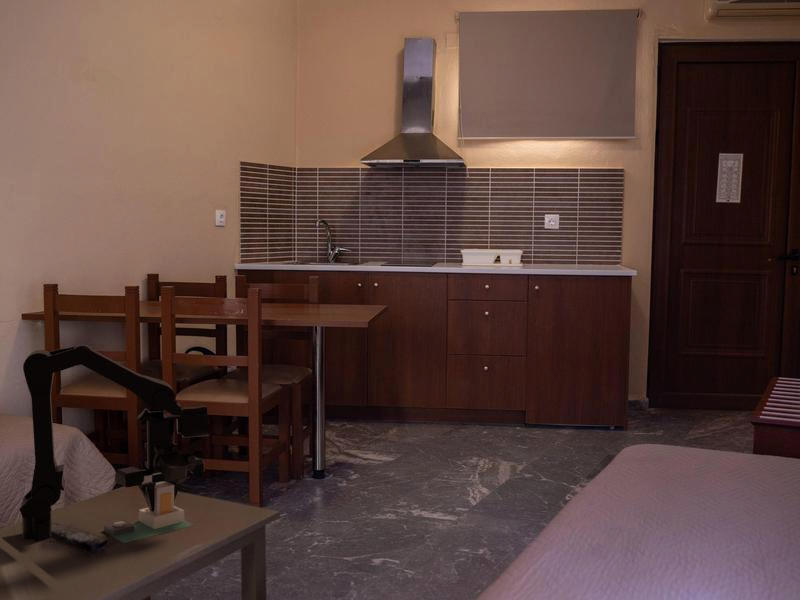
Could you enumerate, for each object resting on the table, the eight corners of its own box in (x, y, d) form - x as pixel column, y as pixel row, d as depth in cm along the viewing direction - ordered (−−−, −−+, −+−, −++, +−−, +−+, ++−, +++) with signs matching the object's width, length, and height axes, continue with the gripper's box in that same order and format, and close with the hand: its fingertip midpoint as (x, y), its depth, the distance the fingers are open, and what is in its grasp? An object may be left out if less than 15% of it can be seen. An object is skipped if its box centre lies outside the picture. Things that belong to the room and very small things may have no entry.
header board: (101, 534, 171) (101, 518, 171) (170, 517, 182) (170, 502, 182) (123, 547, 164) (123, 530, 163) (194, 529, 175) (193, 513, 175)
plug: (148, 515, 177) (148, 484, 176) (165, 511, 180) (165, 481, 179) (158, 520, 174) (157, 488, 173) (175, 516, 177) (174, 485, 176)
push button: (104, 530, 171) (103, 523, 171) (124, 525, 174) (124, 518, 174) (113, 536, 167) (113, 528, 167) (134, 530, 171) (134, 523, 171)
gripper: (137, 453, 164) (138, 528, 165) (217, 439, 177) (217, 508, 177) (113, 443, 172) (114, 515, 173) (191, 430, 185) (192, 497, 185)
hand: (161, 509), depth 177 cm, fingers closed on plug, 4 cm apart
